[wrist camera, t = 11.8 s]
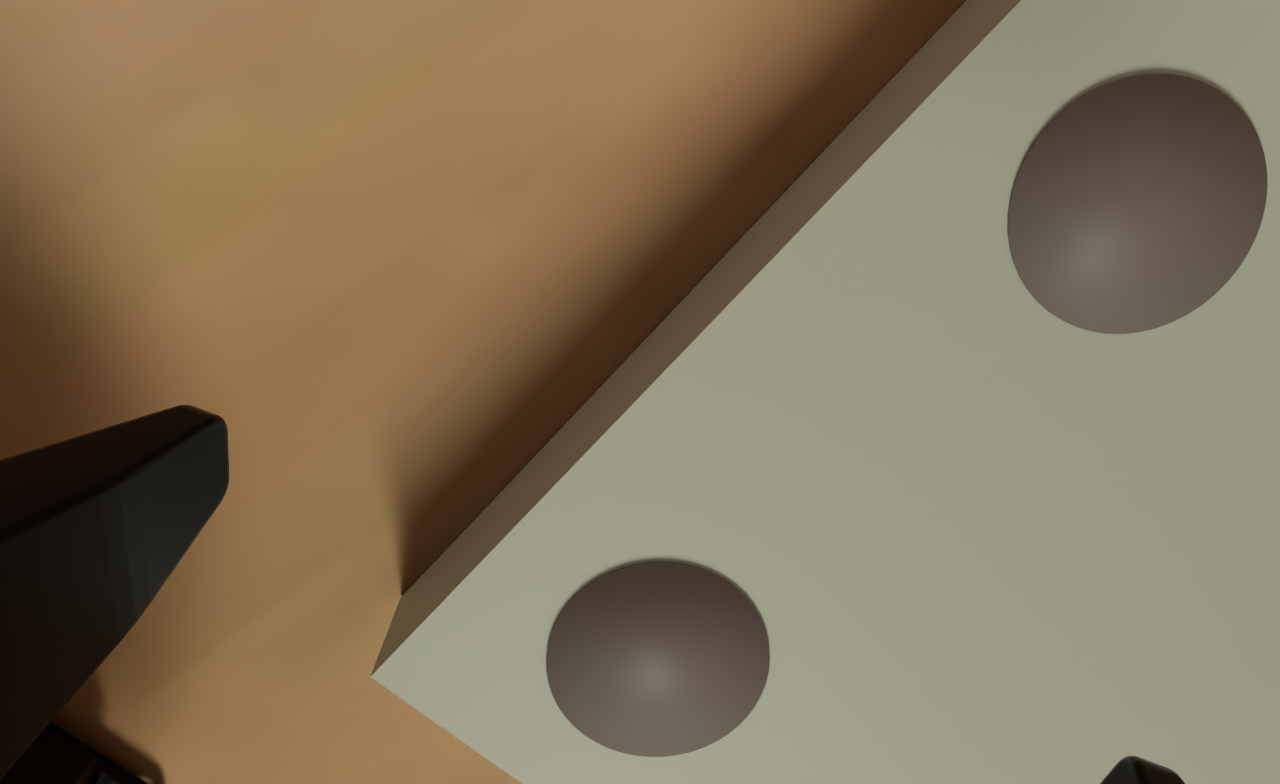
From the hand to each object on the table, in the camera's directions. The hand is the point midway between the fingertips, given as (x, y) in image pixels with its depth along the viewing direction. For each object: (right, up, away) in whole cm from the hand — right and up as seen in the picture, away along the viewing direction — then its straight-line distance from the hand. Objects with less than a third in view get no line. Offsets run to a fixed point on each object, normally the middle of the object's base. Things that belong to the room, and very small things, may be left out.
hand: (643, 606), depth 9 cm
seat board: (+9, -2, +13) cm, 16 cm away
